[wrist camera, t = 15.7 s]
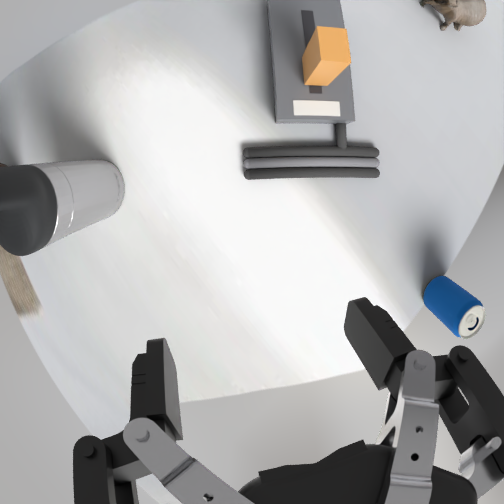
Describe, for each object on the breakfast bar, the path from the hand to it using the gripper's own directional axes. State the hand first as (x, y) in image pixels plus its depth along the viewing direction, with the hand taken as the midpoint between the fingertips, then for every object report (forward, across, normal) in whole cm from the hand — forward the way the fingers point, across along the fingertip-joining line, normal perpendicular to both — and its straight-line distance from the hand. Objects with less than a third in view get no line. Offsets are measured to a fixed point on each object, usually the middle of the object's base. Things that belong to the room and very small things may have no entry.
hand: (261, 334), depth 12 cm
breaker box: (+33, -16, -14) cm, 39 cm away
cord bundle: (+30, -15, -2) cm, 33 cm away
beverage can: (+19, -36, +22) cm, 47 cm away
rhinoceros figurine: (+31, -42, -27) cm, 59 cm away
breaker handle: (+28, -15, -12) cm, 34 cm away
